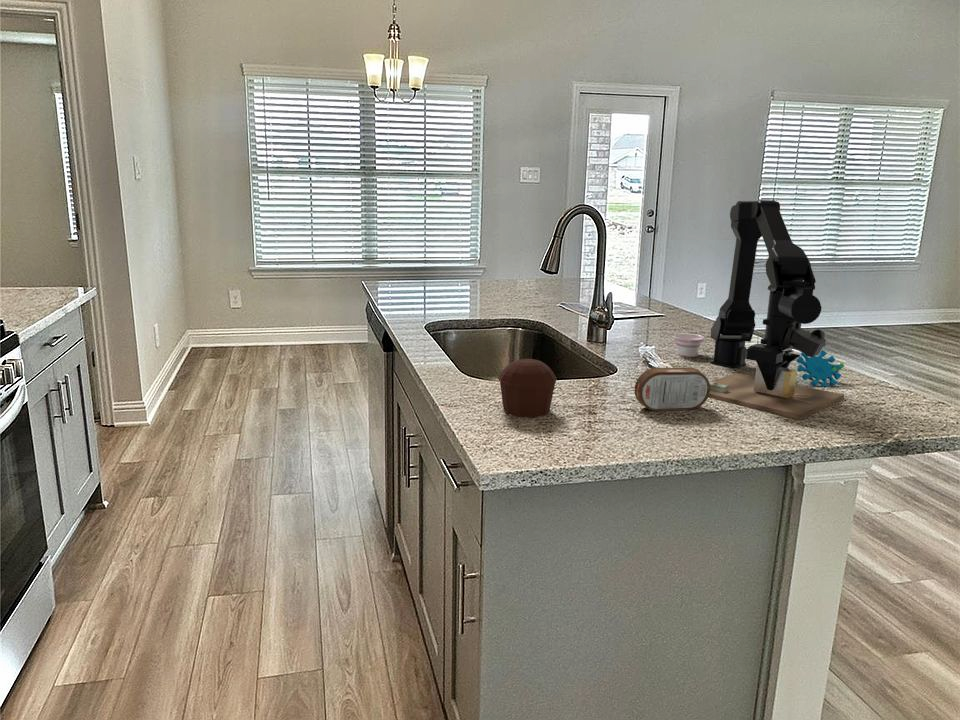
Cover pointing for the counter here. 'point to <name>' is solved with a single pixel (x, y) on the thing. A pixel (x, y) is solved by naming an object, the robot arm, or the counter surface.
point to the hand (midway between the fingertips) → (773, 388)
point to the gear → (819, 369)
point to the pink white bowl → (688, 344)
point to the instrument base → (771, 397)
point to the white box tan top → (778, 383)
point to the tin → (672, 389)
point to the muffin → (527, 388)
